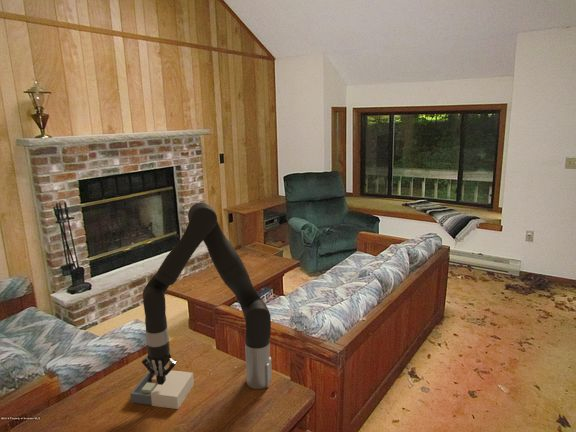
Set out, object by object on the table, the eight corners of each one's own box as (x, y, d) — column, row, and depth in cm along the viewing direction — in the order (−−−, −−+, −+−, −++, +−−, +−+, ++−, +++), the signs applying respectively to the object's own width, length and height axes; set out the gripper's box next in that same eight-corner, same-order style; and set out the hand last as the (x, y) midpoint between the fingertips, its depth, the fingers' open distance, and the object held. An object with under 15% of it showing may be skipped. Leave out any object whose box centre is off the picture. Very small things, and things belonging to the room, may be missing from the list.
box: (169, 381, 163) (168, 372, 162) (151, 405, 150) (150, 396, 149) (150, 379, 165) (149, 370, 164) (131, 403, 151) (130, 393, 150)
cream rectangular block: (193, 384, 162) (193, 372, 160) (178, 409, 148) (177, 396, 147) (169, 381, 163) (168, 370, 162) (151, 405, 150) (150, 393, 149)
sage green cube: (155, 383, 154) (147, 382, 155) (150, 390, 150) (141, 389, 151) (156, 392, 155) (148, 391, 156) (151, 399, 151) (142, 398, 152)
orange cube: (165, 373, 161) (156, 372, 162) (160, 379, 157) (151, 378, 158) (166, 382, 162) (157, 381, 163) (161, 389, 158) (152, 388, 159)
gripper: (180, 336, 149) (183, 378, 153) (145, 332, 151) (149, 374, 156) (170, 347, 142) (174, 392, 146) (134, 344, 144) (139, 387, 148)
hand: (161, 383), depth 151 cm, fingers closed
